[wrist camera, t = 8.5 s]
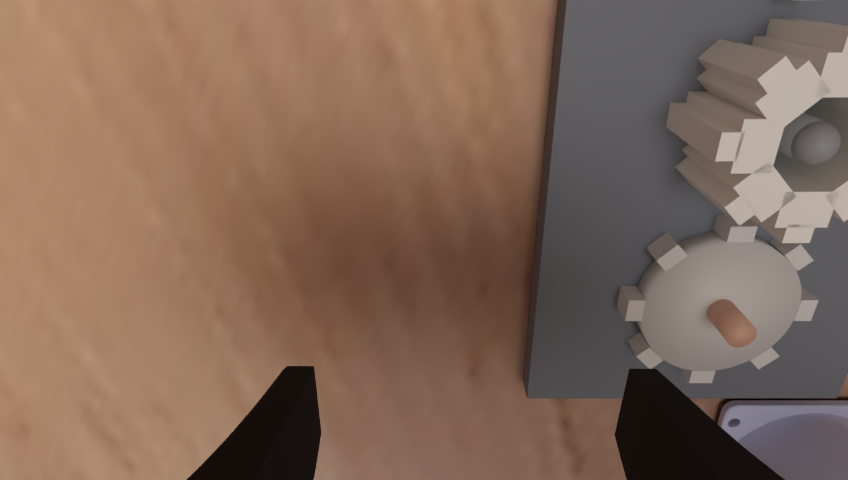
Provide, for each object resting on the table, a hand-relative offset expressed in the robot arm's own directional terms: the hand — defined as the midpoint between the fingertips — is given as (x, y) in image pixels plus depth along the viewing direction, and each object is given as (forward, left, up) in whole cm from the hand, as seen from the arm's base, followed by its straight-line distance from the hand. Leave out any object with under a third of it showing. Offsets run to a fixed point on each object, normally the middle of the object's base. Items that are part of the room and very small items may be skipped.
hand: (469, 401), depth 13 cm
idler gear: (+5, -10, -8) cm, 14 cm away
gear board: (+4, -10, -9) cm, 14 cm away
